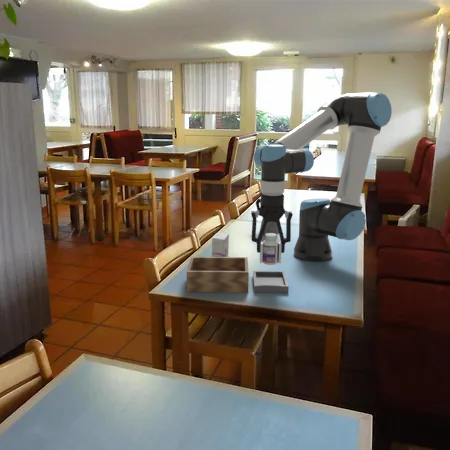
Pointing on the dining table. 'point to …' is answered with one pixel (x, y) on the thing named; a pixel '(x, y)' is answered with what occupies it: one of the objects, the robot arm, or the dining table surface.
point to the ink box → (220, 245)
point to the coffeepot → (270, 226)
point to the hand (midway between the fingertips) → (270, 261)
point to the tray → (270, 282)
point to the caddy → (218, 274)
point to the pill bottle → (270, 249)
